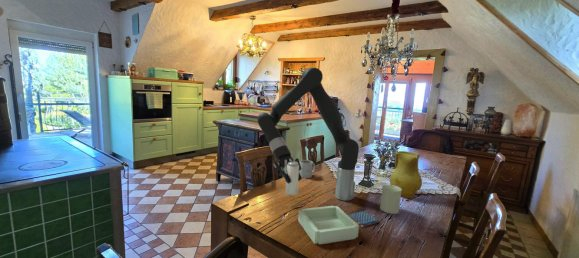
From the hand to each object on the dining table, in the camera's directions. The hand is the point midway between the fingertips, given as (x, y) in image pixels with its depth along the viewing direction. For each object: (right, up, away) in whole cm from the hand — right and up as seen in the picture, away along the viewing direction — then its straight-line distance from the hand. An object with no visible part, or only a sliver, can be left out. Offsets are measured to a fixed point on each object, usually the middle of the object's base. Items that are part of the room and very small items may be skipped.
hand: (294, 181), depth 113 cm
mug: (+10, -9, +61) cm, 63 cm away
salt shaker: (-1, -6, +2) cm, 6 cm away
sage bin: (+13, -19, -4) cm, 24 cm away
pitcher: (+66, -15, +40) cm, 79 cm away
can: (+48, -18, +17) cm, 54 cm away
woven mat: (+31, -20, +5) cm, 37 cm away
